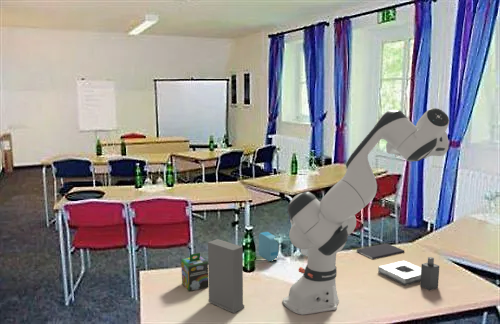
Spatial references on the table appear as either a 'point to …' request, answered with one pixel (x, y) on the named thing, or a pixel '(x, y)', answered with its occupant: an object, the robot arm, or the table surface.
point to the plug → (429, 275)
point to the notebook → (380, 251)
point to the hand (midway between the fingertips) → (410, 156)
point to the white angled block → (304, 252)
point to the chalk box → (194, 272)
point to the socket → (401, 272)
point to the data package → (268, 246)
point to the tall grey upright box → (225, 275)
